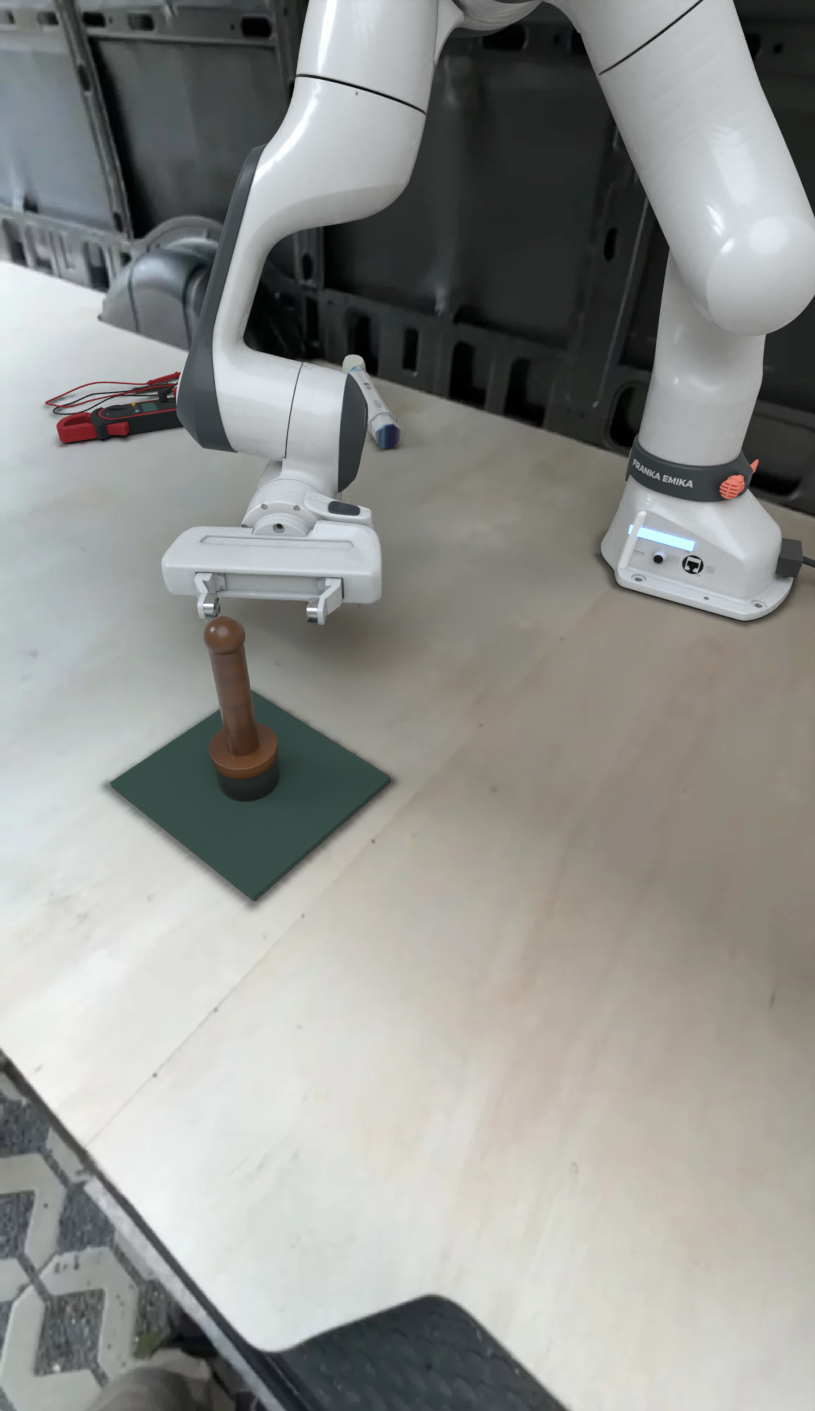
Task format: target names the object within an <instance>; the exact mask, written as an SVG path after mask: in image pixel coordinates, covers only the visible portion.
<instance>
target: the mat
mask: <svg viewBox="0 0 815 1411" xmlns="http://www.w3.org/2000/svg"><path fill="white" fill-rule="evenodd" d="M251 693H252V700H253V706H254V712H255V719H256V722H257V723H261V724H263V725H266V726H267V727H269V728H270V729H271V730H272V731H273V732H274V733H275V735H276V737H277V741H278V749H279V754H278V758H277V759H278V766H279V774H280V778H279V782H278V784H277V786H276V788H275V789H274V790H273V791H272V792H271V793H270V794H268V795H267V796H265V797H263V798H261V799H258V800H254V801H237V800H233V799H231V798H229V797H227V796H226V795H225V794H224V793H223V792H222V791H221V789H220V787H219V783H218V778H217V774H216V770H215V768H214V767H213V765H212V762H211V758H210V753H209V745H210V742H211V740H212V738H213V737H214V736H215V734H216V733H217V732H219V731H220V730H221V729H223V728H224V727H223V722H222V717H221V712H220V708H219V709H218V710H216V711H215V712H213V713H211V714H210V715H209V716H207V717H206V718H205V719H203V720H201V721H200V722H198V723H197V724H195V725H194V726H192V727H191V728H189V729H188V730H186V731H184V732H183V733H182V734H180V735H179V736H177V737H176V738H175V739H172V740H171V741H170V742H168V743H167V744H165V745H164V746H163V747H161V748H159V749H157V751H155V752H154V753H152V754H150V755H149V756H148V757H146V758H144V759H142V760H141V761H140V762H138V763H137V764H135V765H134V766H132V767H131V768H129V769H128V770H127V771H125V772H123V773H122V774H120V775H119V776H117V777H116V778H114V779H112V780H111V781H110V782H109V784H110V788H112V789H114V790H115V791H116V792H117V793H118V794H120V796H122V797H123V798H124V799H126V800H127V801H128V802H130V804H132V805H133V806H135V807H136V808H137V809H139V811H141V812H142V813H143V814H144V815H146V816H148V818H150V819H151V820H152V821H153V822H155V823H156V824H157V825H158V826H159V827H161V828H162V829H163V830H164V831H166V832H167V833H168V834H169V835H171V836H172V837H173V838H174V839H176V840H177V842H179V843H181V844H182V845H183V846H184V847H185V848H186V849H188V850H189V851H191V852H192V853H193V854H194V855H196V856H197V857H198V858H199V859H200V860H202V861H203V862H204V863H206V864H207V865H208V867H210V868H212V869H213V870H214V871H215V872H217V873H218V874H219V875H220V876H222V877H223V878H224V879H225V880H227V881H228V882H229V883H230V884H231V885H233V886H234V887H235V888H236V889H238V890H239V891H240V892H242V893H243V894H244V895H245V896H247V897H248V898H249V900H251V901H253V902H255V901H256V900H258V899H259V898H260V897H261V896H262V895H263V894H265V893H266V892H267V891H268V890H269V889H270V888H271V887H272V886H273V885H275V884H276V883H277V882H278V881H279V880H280V879H281V878H283V877H284V876H285V875H286V874H287V873H289V871H291V870H292V869H293V868H294V867H295V866H296V865H298V864H299V863H300V862H301V861H302V860H303V859H304V858H305V857H307V856H308V855H309V854H310V853H311V852H313V851H314V849H316V848H317V847H318V846H319V845H320V844H321V843H323V842H324V841H325V840H326V839H327V838H329V837H330V835H332V834H333V833H334V832H335V831H337V829H338V828H339V827H341V826H343V824H344V823H345V822H347V820H348V819H350V818H352V816H353V815H354V814H356V813H357V812H358V811H359V810H360V809H361V808H363V807H364V806H365V805H366V804H367V803H368V802H369V801H371V800H372V799H373V798H374V797H375V796H376V795H377V794H378V793H380V792H381V791H382V790H383V789H384V788H385V787H386V786H388V784H390V783H391V781H392V780H391V779H392V778H391V776H390V775H388V774H387V773H385V772H383V771H382V770H380V769H378V768H377V767H375V766H373V765H372V764H370V763H369V762H368V761H365V760H364V759H362V758H361V757H359V756H358V755H356V754H354V753H353V752H351V751H350V750H348V749H346V748H345V747H343V746H341V745H340V744H338V743H337V742H335V741H334V740H332V739H330V738H329V737H327V736H325V735H324V734H322V733H320V732H319V731H317V730H316V729H314V728H313V727H311V726H309V725H308V724H307V723H305V722H303V721H301V720H300V719H298V718H297V717H295V716H294V715H292V714H290V713H288V712H287V711H285V709H282V708H281V707H280V706H278V705H277V704H274V703H272V702H271V701H270V700H268V699H266V698H265V697H263V696H262V695H260V694H259V693H257V692H255V691H254V690H252V689H251Z"/></svg>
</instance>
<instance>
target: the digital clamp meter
mask: <svg viewBox="0 0 815 1411" xmlns="http://www.w3.org/2000/svg"><path fill="white" fill-rule="evenodd" d="M180 374H181V371H174V373H171V374H166V375H164V376H159V377H157V378H153V379H149V380H147V381H146V382H124V381H107V380H106V381H105V380H103V381H94V382H93V381H92V382H88V383H85V384H83V385H79V386H77V387H75V388H72V389H70V390H68V391H66V392H64V393H61V394H59V395H57V396H54V397H52V398H50V399H48V400H45V402H44V404H45V405H47V406H52V407H54V408H53V409H52V413H53V414H55V415H59V416H65V417H63V418H61V419H60V420H59V421H58V422H57V423H56V425H55V427H56V431H57V434H58V438H59V441H60V442H61V443H72V442H73V443H74V442H80V441H86V440H91V439H95V438H97V439H98V440H107V439H108V438H111V437H122V436H129V435H135V434H143V433H149V432H154V431H160V430H166V429H174V428H179V427H184V426H183V425H182V423H181V421H180V420H179V418H178V416H177V410H176V409H177V405H176V392H177V385H178V381H176V382H174V383H173V382H167V381H170V380H173V379H179V377H180ZM163 382H166V383H163ZM159 383H160V384H159ZM97 384H112V385H113V384H116V385H131V386H135V387H134V388H131V389H127V390H116V391H103V392H94V393H90V394H86V395H85V396H82V397H80V398H78V399H76V400H74V401H71V402H68V403H63V404H61V405H60V404H54V403H51V402H52V401H55V400H57V399H60V398H62V397H64V396H66V395H69V394H71V393H73V392H75V391H77V390H80V389H82V388H85V387H88V386H93V385H97ZM137 386H140V387H137ZM156 390H158V391H157V393H156V394H155V393H154V394H138V393H142V392H149V391H156ZM133 393H136V394H133ZM170 394H173V396H170V397H168V396H169V395H170ZM97 395H105V396H100V397H95V398H92V399H87V400H85V399H86V398H90V397H93V396H97ZM118 397H140V398H141V397H158V398H156V399H149V400H143V401H136V402H130V403H123V404H113V405H112V404H111V405H109V406H105V407H102V406H100V407H97V406H99V405H101V404H103V403H105V402H106V401H109V400H112V399H115V398H118ZM82 400H84V401H82ZM99 400H100V402H98V403H95V404H94V405H92V406H91V407H88V408H86V409H83V410H80V411H75V412H62V413H61V412H57V411H56V410H57V409H60V408H63V409H65V408H67V409H69V408H75V407H78V406H82V405H84V404H87V403H91V402H94V401H99ZM80 401H82V402H80ZM78 402H79V403H78ZM95 407H97V408H95ZM94 408H95V409H94ZM92 409H94V410H92ZM90 410H92V411H91V412H89V411H90Z"/></svg>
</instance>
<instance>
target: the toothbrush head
mask: <svg viewBox="0 0 815 1411" xmlns="http://www.w3.org/2000/svg"><path fill="white" fill-rule="evenodd" d="M341 369H342V370H341V371H342V372H345V373H350V374H351V375H352V376H353V378H354V379H355V380H356V382H357V383H358V385H359V386H360V388H361V390H362V392H363V394H364V397H365V399H366V401H367V404H368V424H367V430H368V434H369V435H371V436H372V437H373V439H374V441H375V444H377V445H378V446H379V447H380V448H381V449H382V450H387V449H389V450H390V449H394V448H395V447H396V446H397V445H398V444H399V443H400V442H401V437H402V431H401V429H400V427H399V425H398V418H397V416H395V415H394V414H393V413H392V412H391V410H389V408H388V406H387V404H386V402H385V401H384V400H383V398H382V396H381V394H380V393H379V391H378V390H377V388H376V387H375V385H374V383H373V382H372V380H371V376H370V375H369V373H368V372H367V369H366V363H365V360H364V359H363V357H362V356H360V355H358V354H348V355H347V356H345V357H344V360H343V362H342V367H341Z"/></svg>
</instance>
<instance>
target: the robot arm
mask: <svg viewBox="0 0 815 1411" xmlns="http://www.w3.org/2000/svg"><path fill="white" fill-rule="evenodd" d="M542 2H544V3H547V4H550V5H552V6H554V7H556V8H557V9H559V11H561V12H562V13H563V14H564V15H565V16H566V17H567V18H568V20H569V21H570V22H571V24H572V26H573V27H574V28H575V30H576V32H577V33H578V34H580V37H581V40H582V42H583V44H584V48H585V52H586V54H587V56H588V59H589V61H590V65H591V67H592V69H593V72H594V74H595V77H596V79H597V82H598V83H599V87H600V88H601V91H602V93H603V96H604V98H605V100H606V103H607V105H608V108H609V110H610V112H611V115H612V118H613V120H614V122H615V124H616V127H617V129H618V132H619V134H620V136H621V139H622V142H623V143H624V146H625V148H626V151H627V153H628V155H629V158H630V161H631V162H632V165H633V167H634V170H635V172H636V174H637V177H638V179H639V181H640V183H641V185H642V187H643V190H644V192H645V194H646V197H647V199H648V201H649V203H650V206H651V209H652V210H653V212H654V215H655V217H656V219H657V222H658V225H659V226H660V229H661V231H662V233H663V235H664V238H665V240H666V242H667V245H668V247H669V250H668V255H667V263H666V268H665V274H664V281H663V288H662V294H661V301H660V310H659V317H658V325H657V335H656V343H655V352H654V360H653V365H652V371H651V377H650V380H649V386H648V390H647V395H646V399H645V402H644V408H643V412H642V418H641V422H640V427H639V430H638V431H639V432H638V433H636V435H635V436H634V438H633V442H632V446H631V448H630V450H629V454H628V460H627V463H626V473H625V477H624V478H625V482H626V483H625V487H624V490H623V493H622V496H621V499H620V502H619V503H618V507H617V509H616V512H615V514H614V517H613V519H612V520H611V521H612V522H611V523H610V525H609V527H608V529H607V531H606V533H605V535H604V537H603V538H602V541H601V543H600V552H601V555H602V557H603V559H604V560H605V561H606V563H607V564H608V565H609V567H611V568H612V570H613V572H614V579H615V581H616V583H617V584H618V585H619V586H620V587H623V588H625V589H629V590H632V591H636V592H640V593H643V594H647V595H650V596H653V597H657V598H660V599H663V600H668V601H670V602H675V603H678V604H681V605H685V606H688V607H691V608H694V609H695V608H696V609H700V610H703V611H705V612H706V611H707V612H709V613H713V614H717V615H719V616H724V617H727V618H731V619H733V620H737V621H742V622H746V621H747V622H749V621H752V620H757V619H759V618H762V617H765V616H767V615H769V614H770V613H772V612H773V611H775V610H776V609H777V608H778V607H779V606H780V605H781V604H782V603H783V602H784V601H785V600H786V598H787V597H788V595H789V594H790V592H791V589H792V585H793V582H794V579H797V578H798V575H799V573H800V571H801V569H802V566H803V565H806V566H807V567H811V568H814V569H815V559H813V558H810V557H807V556H805V555H804V553H803V544H802V540H799V539H792V538H785V537H783V534H782V530H781V528H780V526H779V524H778V523H777V522H776V520H774V519H773V517H772V516H771V515H770V514H769V512H767V510H766V509H765V508H764V506H763V505H762V504H761V503H760V502H759V500H758V499H757V498H756V497H755V496H754V494H753V493H752V491H750V489H749V486H750V485H751V484H750V483H751V480H752V477H753V474H754V473H755V472H756V470H757V467H758V465H759V461H760V460H759V459H757V458H756V459H755V460H754V461H753V462H752V463H751V464H750V462H749V461H748V459H747V458H746V456H745V454H744V452H743V449H742V447H743V443H744V440H745V438H746V434H747V431H748V429H749V428H748V427H749V424H750V421H751V418H752V416H753V412H754V409H755V405H756V402H757V398H758V396H759V392H760V390H761V387H762V382H763V375H764V373H763V371H764V370H763V368H764V366H763V365H764V364H763V363H764V353H765V352H764V351H765V344H766V336H767V335H768V334H770V333H773V332H776V331H778V330H780V329H782V328H784V327H785V326H787V325H789V323H791V322H793V321H794V320H796V318H797V317H798V316H799V315H800V314H801V313H803V311H805V309H806V308H807V307H808V306H809V304H810V302H812V300H813V298H814V297H815V215H814V212H813V210H812V207H811V205H810V201H809V199H808V197H807V193H806V191H805V188H804V186H803V184H802V181H801V178H800V175H799V172H798V171H797V167H796V164H795V163H794V161H793V157H792V155H791V153H790V151H789V148H788V146H787V144H786V141H785V138H784V136H783V134H782V131H781V129H780V127H779V125H778V121H777V119H776V117H775V116H774V113H773V111H772V108H771V106H770V104H769V101H768V99H767V97H766V95H765V92H764V90H763V88H762V85H761V82H760V80H759V77H758V74H757V71H756V68H755V64H754V61H753V58H752V56H751V53H750V52H751V51H750V49H749V47H748V43H747V40H746V36H745V34H744V31H743V28H742V25H741V22H740V18H739V16H738V13H737V9H736V6H735V3H734V0H309V1H308V5H307V9H306V13H305V14H306V15H305V18H304V23H303V28H302V34H301V40H300V45H299V51H298V58H297V65H296V71H295V79H294V80H295V81H294V87H293V91H292V97H291V99H290V103H289V106H288V109H287V112H286V114H285V117H284V118H283V120H282V122H281V124H280V126H279V128H278V129H277V130H276V132H275V134H274V135H273V137H272V138H271V139H270V140H269V142H267V143H264V144H260V145H257V146H255V147H253V148H252V149H251V150H250V152H249V153H248V155H247V156H246V158H245V160H244V162H243V164H242V166H241V169H240V171H239V174H238V177H237V179H236V181H235V185H234V188H233V192H232V194H231V198H230V202H229V205H228V209H227V212H226V215H225V219H224V222H223V225H222V229H221V232H220V237H219V240H218V244H217V248H216V251H215V256H214V259H213V264H212V267H211V271H210V274H209V275H210V276H209V278H208V283H207V286H206V287H207V288H206V290H205V295H204V298H203V302H202V306H201V309H200V314H199V318H198V321H197V325H196V329H195V332H194V334H193V338H192V341H191V344H190V347H189V351H188V354H187V357H186V359H185V361H184V364H183V366H182V369H181V371H180V372H181V374H180V376H179V378H178V381H177V382H178V385H176V387H177V392H176V405H177V409H176V410H177V416H178V418H179V420H180V421H181V423H182V425H183V426H182V427H184V429H185V431H187V433H188V434H189V435H190V436H191V437H192V439H193V440H194V441H195V442H196V443H197V444H198V445H199V446H200V447H201V448H202V449H206V450H212V451H221V452H228V453H234V454H237V453H241V454H245V455H250V456H255V457H259V458H263V459H268V462H267V464H266V465H265V467H264V469H263V471H262V474H261V475H260V478H259V480H258V483H257V487H256V491H255V492H254V493H253V496H252V497H251V499H250V502H249V504H248V507H247V509H246V511H245V513H244V516H243V519H242V521H241V524H240V526H219V525H218V526H215V525H198V526H192V527H190V528H188V529H186V530H184V531H183V532H182V533H181V534H180V535H178V537H177V538H176V539H175V540H174V541H173V542H172V544H170V545H169V547H168V549H167V550H166V551H165V553H164V554H163V556H162V558H161V562H160V566H161V567H160V568H161V574H162V578H163V582H164V585H165V587H166V590H168V591H169V593H170V594H171V595H172V596H175V597H194V598H196V599H197V605H196V607H197V613H198V618H199V620H206V621H207V620H208V621H210V620H212V619H213V618H215V617H218V616H220V614H221V609H222V608H221V603H219V601H220V599H243V600H244V599H245V600H264V601H288V602H289V601H290V602H307V604H306V608H305V611H306V613H305V614H306V623H307V624H309V625H313V624H314V625H325V624H326V619H327V616H328V615H330V614H331V613H332V612H334V611H335V610H338V608H339V607H341V606H342V604H357V605H358V604H359V605H371V604H374V603H376V602H378V601H379V600H381V599H382V596H383V554H382V546H381V540H380V536H379V535H378V533H377V532H376V531H375V523H374V517H373V516H374V515H373V511H372V509H370V508H369V507H365V506H362V505H357V504H354V503H353V504H352V503H348V502H344V501H342V493H343V491H345V490H346V489H347V488H348V487H349V486H350V485H351V484H353V482H354V481H355V480H356V478H357V476H358V472H359V470H360V465H361V460H362V455H363V451H364V447H365V443H366V437H367V430H368V404H367V401H366V399H365V397H364V394H363V392H362V390H361V388H360V386H359V385H358V383H357V382H356V380H355V379H354V378H353V376H352V375H351V374H350V373H345V372H342V370H338V369H334V368H330V367H328V366H327V367H326V366H324V365H320V364H319V365H318V364H315V363H311V362H306V361H303V362H302V361H298V360H295V359H290V358H286V357H281V356H279V355H274V354H270V353H266V352H262V351H259V350H255V349H252V348H250V346H248V345H247V344H246V343H245V340H244V335H245V331H246V328H247V324H248V321H249V317H250V315H251V310H252V307H253V304H254V300H255V296H256V293H257V290H258V288H259V283H260V279H261V276H262V273H263V269H264V265H265V263H266V260H267V257H268V256H269V254H270V252H271V250H272V249H273V248H274V246H275V245H276V244H278V242H280V241H281V240H283V239H284V238H286V237H288V236H289V235H292V234H294V233H297V232H301V231H304V230H305V231H306V230H310V229H315V228H321V227H328V226H334V225H340V224H346V223H351V222H355V221H359V220H363V219H366V218H369V217H371V216H374V215H376V214H378V213H379V212H382V211H384V210H385V209H387V208H388V207H389V206H390V205H392V204H393V203H394V202H395V201H396V200H397V199H399V197H400V196H401V194H402V193H403V192H404V191H405V189H406V188H407V187H408V185H409V183H410V180H411V177H412V174H413V171H414V168H415V164H416V161H417V158H418V154H419V151H420V146H421V143H422V138H423V134H424V131H425V126H426V120H427V115H428V111H429V110H428V109H429V104H430V98H431V92H432V87H433V79H434V75H435V71H436V68H437V67H438V66H437V65H438V62H439V59H440V55H441V52H442V50H443V49H444V45H445V43H446V41H447V40H448V39H458V38H461V39H462V38H481V37H486V36H491V35H493V34H495V33H499V32H501V31H503V30H505V29H506V28H508V27H509V26H511V25H513V24H515V23H516V22H518V21H520V20H522V19H523V18H525V17H526V16H529V14H530V13H532V12H533V11H534V10H535V9H536V8H537V7H538V6H539V5H540V4H541V3H542Z"/></svg>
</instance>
